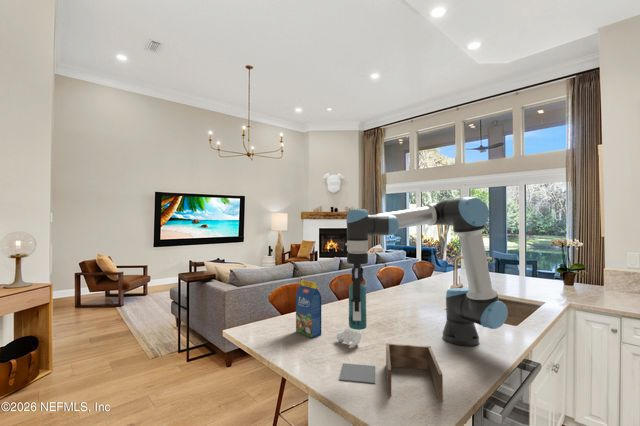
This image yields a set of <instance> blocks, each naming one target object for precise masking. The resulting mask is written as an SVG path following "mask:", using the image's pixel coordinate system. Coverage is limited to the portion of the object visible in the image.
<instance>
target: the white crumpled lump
mask: <svg viewBox="0 0 640 426" xmlns="http://www.w3.org/2000/svg"><path fill="white" fill-rule="evenodd" d="M362 335H363V333H362V330H355V329H352V328H350V327H349V326H348V327H346V328H345V329H344V330H342V331H339V332H337V334H336V339H337V341H338V343H343V342H344V343H345V344H346V345H348V349H353V348H354V347H355V346H359V345H360V343H361V339H362ZM350 342H352V343H351V344H350Z"/></svg>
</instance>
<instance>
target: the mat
mask: <svg viewBox="0 0 640 426" xmlns="http://www.w3.org/2000/svg"><path fill="white" fill-rule="evenodd" d="M338 381H341V382H352V383H360V384H361V383H362V384H363V383H364V384H371V385H372V384H373V385H375V384H376V365H369V364H368V365H367V364H355V363H342V367H341V370H340V374H339V378H338Z"/></svg>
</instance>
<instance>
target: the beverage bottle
mask: <svg viewBox="0 0 640 426" xmlns="http://www.w3.org/2000/svg"><path fill="white" fill-rule="evenodd" d="M360 278H361V275H360ZM362 282H364V276H363V275H362ZM352 298H353V283H351V284H350V285H349V287H348V327H350V328H352V329H355V330H360V331H362V330H365V329H367V287H366V285H364V284H363V283H362V284H361V292H360V299H361V321H354V320H353V302H351V300H352ZM355 298H358V297H355Z"/></svg>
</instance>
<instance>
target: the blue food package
mask: <svg viewBox="0 0 640 426" xmlns="http://www.w3.org/2000/svg"><path fill="white" fill-rule="evenodd" d="M317 288H318V285H317V282H313V281H310V280H309V281H308V280H303V279H300V285H299V287H298V289H297V291H296V293H295V294H296V295H295V332H297V333H299V334H301V335H303V336H305V337H308V338H310V339H311V338H312V339H313V338H317V337H320V336H321V335H322V296H321V295H322V294H321V293H320V291H319V290H318V289H317Z"/></svg>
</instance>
